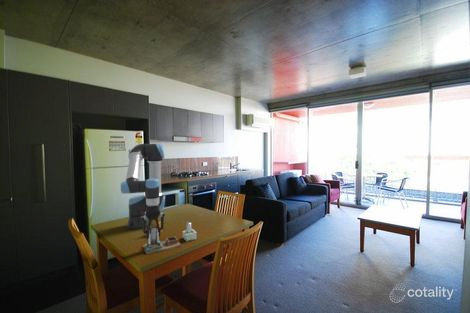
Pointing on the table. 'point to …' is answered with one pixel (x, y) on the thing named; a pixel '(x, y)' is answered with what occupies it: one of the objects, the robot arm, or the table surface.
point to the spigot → (153, 235)
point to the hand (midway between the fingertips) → (153, 242)
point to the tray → (189, 235)
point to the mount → (162, 245)
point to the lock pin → (189, 228)
